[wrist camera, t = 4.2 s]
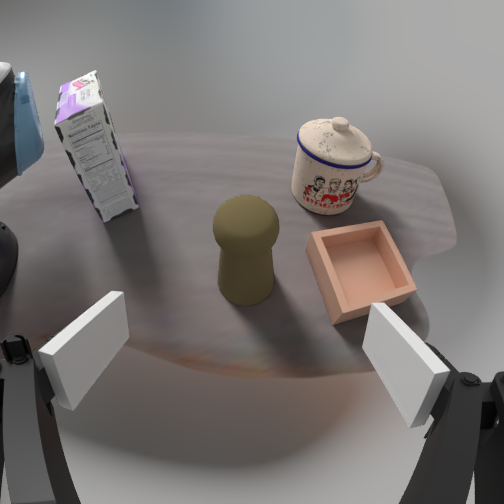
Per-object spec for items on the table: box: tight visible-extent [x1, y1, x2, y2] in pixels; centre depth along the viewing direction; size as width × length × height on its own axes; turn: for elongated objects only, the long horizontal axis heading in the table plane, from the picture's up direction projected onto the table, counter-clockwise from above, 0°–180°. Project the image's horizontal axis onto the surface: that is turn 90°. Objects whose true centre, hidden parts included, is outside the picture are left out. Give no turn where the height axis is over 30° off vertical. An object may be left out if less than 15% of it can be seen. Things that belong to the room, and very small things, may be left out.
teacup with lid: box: [291, 117, 384, 215], centre depth 33 cm, size 12×9×12 cm
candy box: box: [54, 70, 139, 223], centre depth 31 cm, size 14×6×16 cm, turn 29°
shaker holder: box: [306, 220, 417, 325], centre depth 29 cm, size 9×9×4 cm
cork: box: [213, 195, 279, 306], centre depth 26 cm, size 6×6×11 cm
